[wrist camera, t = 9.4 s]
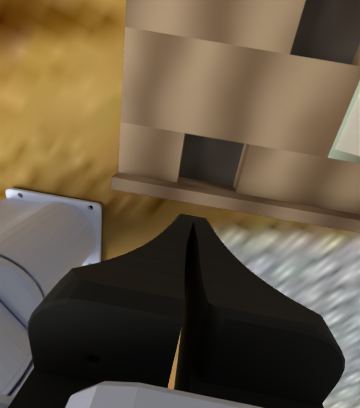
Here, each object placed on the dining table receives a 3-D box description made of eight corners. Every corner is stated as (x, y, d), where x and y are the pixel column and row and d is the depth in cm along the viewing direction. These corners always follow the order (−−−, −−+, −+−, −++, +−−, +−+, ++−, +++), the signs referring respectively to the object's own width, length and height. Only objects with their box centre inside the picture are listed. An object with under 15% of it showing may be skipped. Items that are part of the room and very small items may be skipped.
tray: (124, 177, 21) (111, 189, 18) (138, -56, 15) (122, -102, 11) (357, 217, 21) (387, 237, 18) (473, -1, 14) (552, -33, 11)
